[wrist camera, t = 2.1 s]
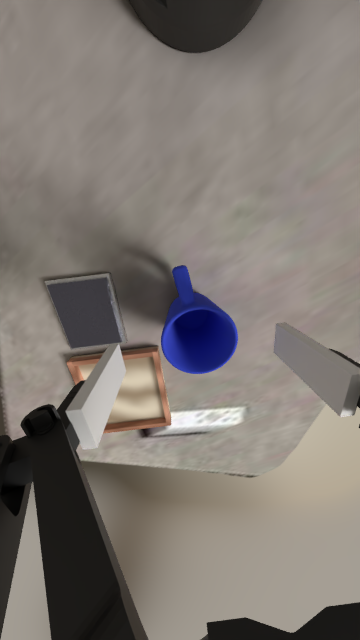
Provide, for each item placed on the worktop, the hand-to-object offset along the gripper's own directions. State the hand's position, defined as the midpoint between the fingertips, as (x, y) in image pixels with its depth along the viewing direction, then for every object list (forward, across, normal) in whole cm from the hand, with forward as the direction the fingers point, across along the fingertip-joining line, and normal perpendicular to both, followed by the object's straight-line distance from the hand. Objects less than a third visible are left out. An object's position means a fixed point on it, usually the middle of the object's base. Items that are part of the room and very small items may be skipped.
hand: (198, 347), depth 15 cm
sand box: (+14, -13, -15) cm, 24 cm away
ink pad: (+14, -15, 0) cm, 20 cm away
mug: (+14, 0, 0) cm, 14 cm away
